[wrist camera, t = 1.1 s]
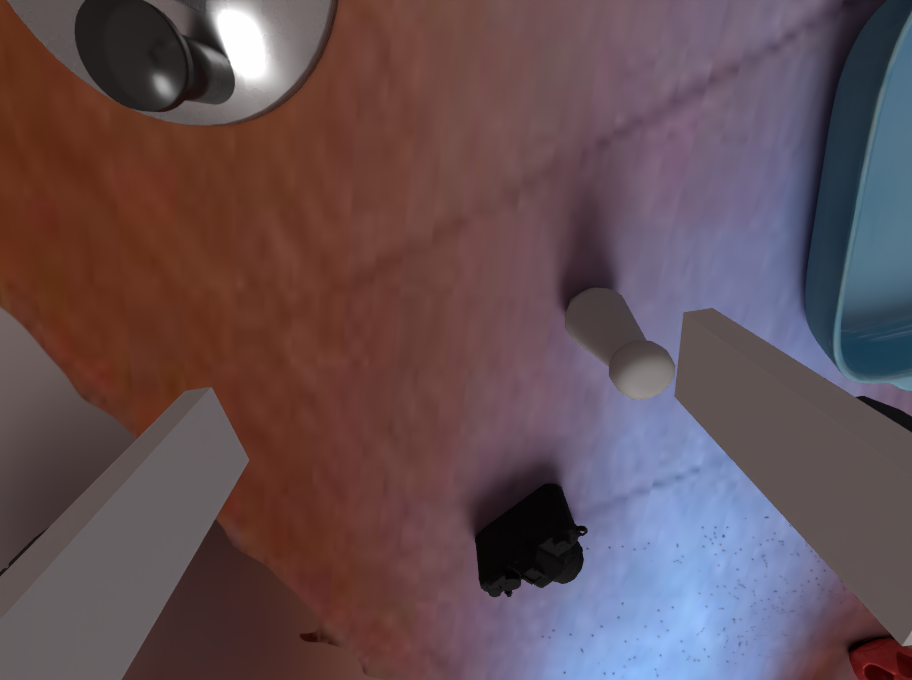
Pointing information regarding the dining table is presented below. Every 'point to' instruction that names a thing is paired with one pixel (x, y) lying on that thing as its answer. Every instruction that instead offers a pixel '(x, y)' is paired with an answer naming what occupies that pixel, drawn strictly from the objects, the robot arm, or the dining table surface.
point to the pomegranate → (881, 660)
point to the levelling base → (233, 29)
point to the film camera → (530, 544)
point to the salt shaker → (618, 343)
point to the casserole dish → (867, 210)
